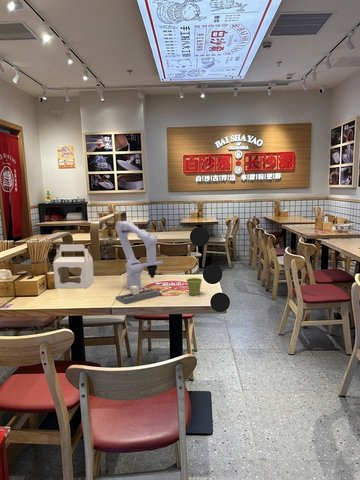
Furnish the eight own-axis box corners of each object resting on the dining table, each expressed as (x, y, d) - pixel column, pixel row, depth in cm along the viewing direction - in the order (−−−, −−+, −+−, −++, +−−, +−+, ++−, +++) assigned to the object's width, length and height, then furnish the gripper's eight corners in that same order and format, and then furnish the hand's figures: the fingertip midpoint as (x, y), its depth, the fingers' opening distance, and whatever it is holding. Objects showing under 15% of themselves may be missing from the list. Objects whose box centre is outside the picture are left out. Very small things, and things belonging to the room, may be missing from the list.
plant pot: (188, 297, 195) (188, 282, 194) (185, 292, 204) (184, 278, 203) (204, 295, 197) (203, 281, 195) (200, 291, 206) (199, 277, 205)
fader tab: (130, 294, 196) (130, 286, 195) (135, 293, 198) (134, 285, 197) (134, 296, 193) (134, 287, 192) (139, 295, 194) (138, 286, 194)
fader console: (115, 299, 195) (115, 295, 194) (150, 291, 209) (150, 287, 209) (125, 304, 185) (125, 299, 185) (161, 295, 199) (161, 291, 199)
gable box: (94, 282, 232) (91, 242, 228) (87, 288, 219) (84, 245, 215) (63, 282, 234) (60, 243, 230) (54, 288, 221) (51, 246, 217)
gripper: (144, 258, 195) (145, 280, 197) (165, 254, 203) (165, 276, 205) (138, 256, 201) (139, 278, 203) (158, 253, 209) (159, 274, 211)
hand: (152, 277), depth 204 cm, fingers closed
